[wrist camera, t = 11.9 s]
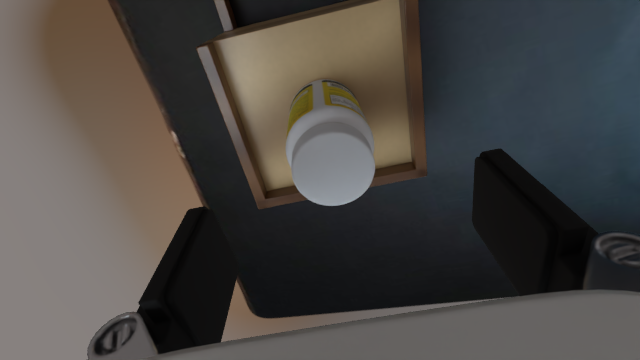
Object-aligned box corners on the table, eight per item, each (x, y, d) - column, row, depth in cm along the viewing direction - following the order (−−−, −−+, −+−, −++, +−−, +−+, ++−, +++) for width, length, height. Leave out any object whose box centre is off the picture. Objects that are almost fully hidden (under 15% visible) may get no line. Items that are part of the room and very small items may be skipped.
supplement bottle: (298, 149, 24) (294, 220, 16) (282, 86, 21) (268, 136, 14) (363, 136, 23) (388, 203, 16) (353, 70, 21) (378, 114, 14)
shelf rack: (162, -171, 21) (70, -271, 13) (362, -233, 20) (398, -384, 12) (270, 156, 33) (258, 209, 25) (397, 129, 32) (427, 176, 24)
